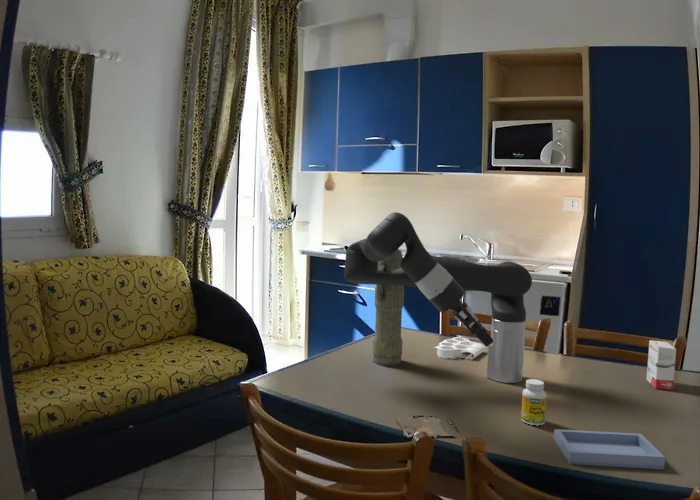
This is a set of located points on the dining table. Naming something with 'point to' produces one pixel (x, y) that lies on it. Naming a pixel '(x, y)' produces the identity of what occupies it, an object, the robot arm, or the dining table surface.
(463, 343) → the white holder with holes
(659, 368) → the ink box
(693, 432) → the dining table surface
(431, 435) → the parchment
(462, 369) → the dining table surface
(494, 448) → the dining table surface
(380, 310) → the thermos
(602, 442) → the tray
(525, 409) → the supplement bottle
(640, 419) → the dining table surface
